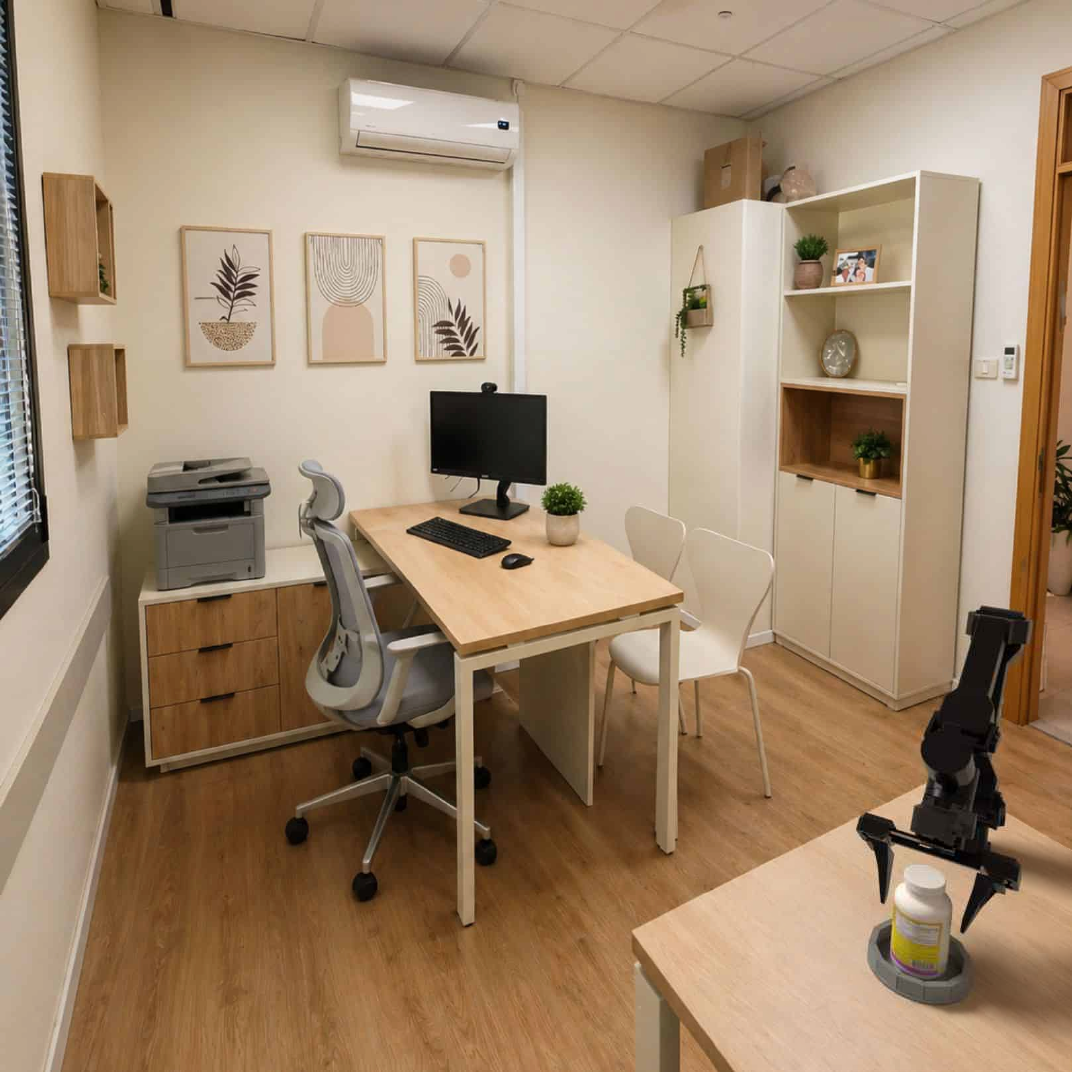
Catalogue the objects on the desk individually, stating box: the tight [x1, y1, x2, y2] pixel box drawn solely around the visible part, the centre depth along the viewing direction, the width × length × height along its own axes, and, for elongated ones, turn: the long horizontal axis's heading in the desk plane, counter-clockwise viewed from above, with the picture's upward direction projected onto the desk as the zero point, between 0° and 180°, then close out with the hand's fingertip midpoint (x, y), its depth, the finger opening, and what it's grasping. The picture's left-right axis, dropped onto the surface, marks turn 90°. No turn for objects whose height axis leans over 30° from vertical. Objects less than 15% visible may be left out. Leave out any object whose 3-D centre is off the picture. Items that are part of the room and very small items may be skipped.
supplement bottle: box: [890, 864, 953, 980], centre depth 103 cm, size 7×7×13 cm
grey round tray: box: [866, 918, 973, 1006], centre depth 104 cm, size 12×12×2 cm
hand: (921, 917), depth 102 cm, fingers open, 9 cm apart
